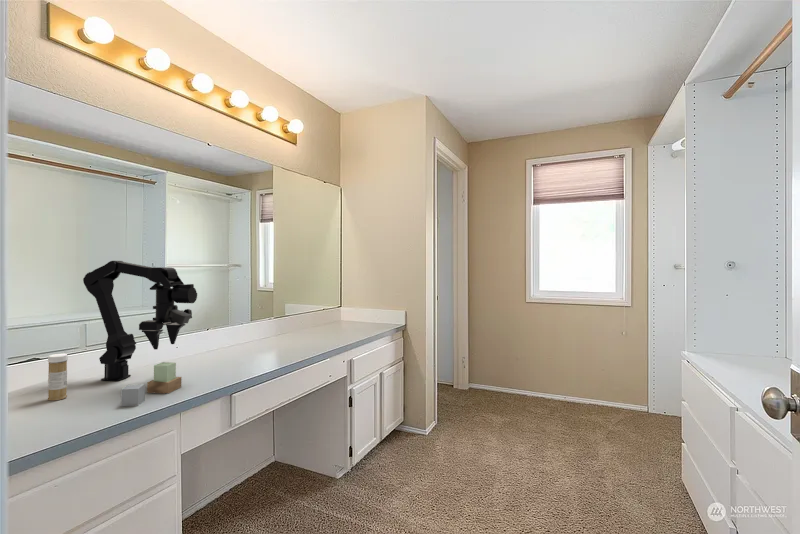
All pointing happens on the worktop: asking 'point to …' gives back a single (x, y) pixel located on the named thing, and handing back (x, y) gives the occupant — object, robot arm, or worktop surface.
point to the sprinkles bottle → (57, 376)
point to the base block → (163, 386)
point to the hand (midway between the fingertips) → (164, 346)
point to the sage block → (164, 371)
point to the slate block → (133, 395)
